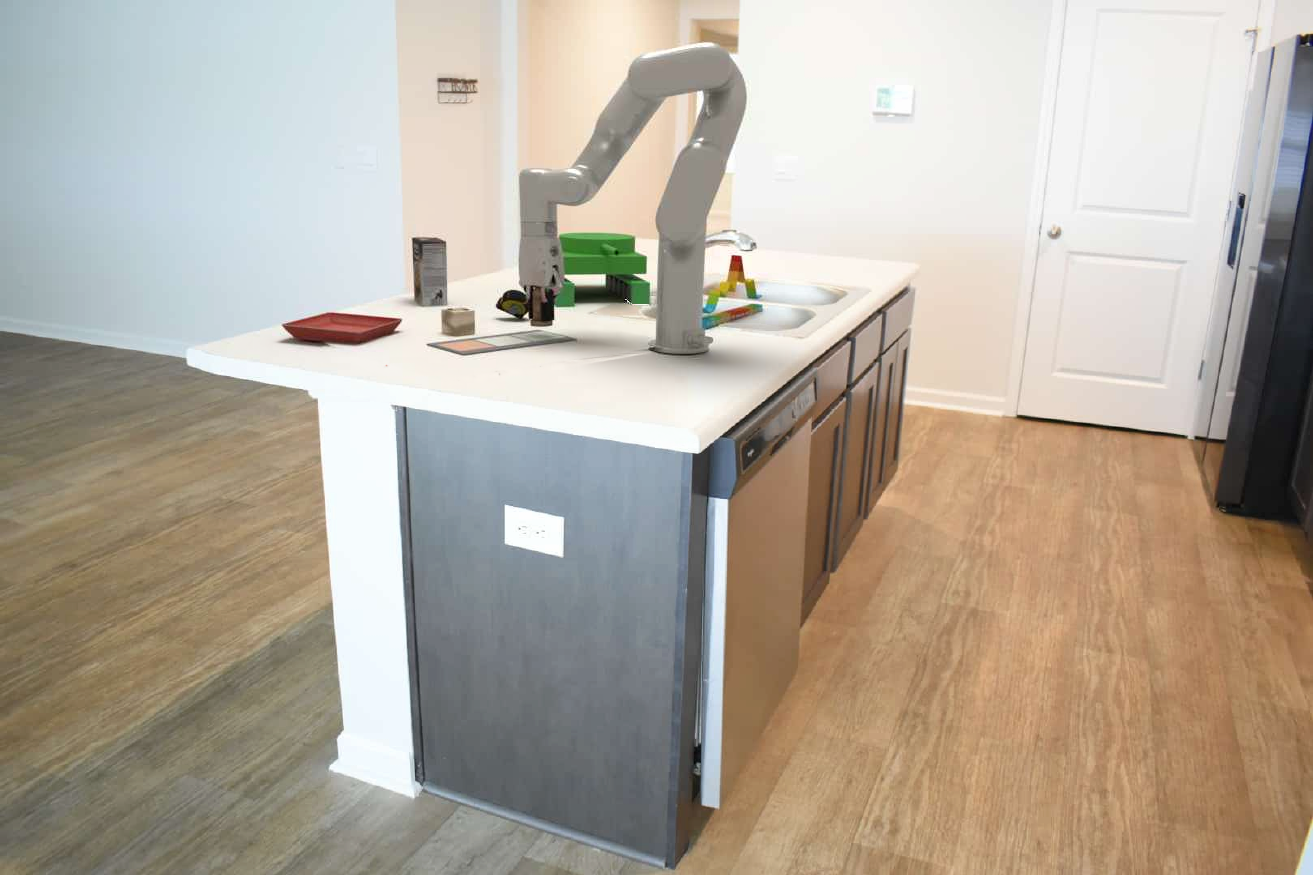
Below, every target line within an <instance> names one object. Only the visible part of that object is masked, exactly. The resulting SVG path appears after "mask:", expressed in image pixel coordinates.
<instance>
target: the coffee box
mask: <svg viewBox="0 0 1313 875" xmlns="http://www.w3.org/2000/svg"><path fill="white" fill-rule="evenodd" d="M411 243H412V244H411V245H412V247H411V248H412V269H413V270H412V272H413V293H414V295H413V296H414V302H415V303H417V304H418V305H419V306H421V307H426V308H427V307H447V306H448V264H447V263H448V262H447V259H448V257H447V241H446V240H443V239H441V238H439V237H427V236H425V237H423V236H422V237H421V236H420V237H419V236H417V237H416V236H415V237H411Z"/></svg>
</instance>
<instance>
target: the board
mask: <svg viewBox="0 0 1313 875" xmlns="http://www.w3.org/2000/svg"><path fill="white" fill-rule="evenodd" d="M572 341H577V338H576V337H573V336H572V337H571V336H567V335H563V334H559V333H555V332H551V331H550V332H549V331H545V330H541V329H533V330H532V329H531V330H524V331H518V332H509V333H502V334H494V335H493V334H492V335H486V336H485V335H484V336H477V337H471V338H469V337H468V338H462V339H461V338H460V339H454V340H446V341H438V342H437V341H436V342H431V343H430V342H429V343H426V346H429V347H432V348H435V349H440V350H443V351H446V352H450V353H454V354H456V355H460V356H470V355H477V354H484V353H493V352H500V351H506V350H513V349H520V348H521V349H523V348H529V347H535V346H541V345H551V344H556V343H557V344H558V343H563V342H565V343H566V342H572Z"/></svg>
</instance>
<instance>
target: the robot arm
mask: <svg viewBox="0 0 1313 875" xmlns="http://www.w3.org/2000/svg"><path fill="white" fill-rule="evenodd" d="M624 79H625V80H624V81H623V82H622V83H621V84H620V87H618V89H617V90H616V92H615V93H614V95H613V96H612V97H611V99H610V101H609V102H608V103H607V105H605V107H604V109H603V110H602V111H601V113H600V114H599V116H598V118H597V120H596V123H595V126H594V129H593V133H592V135H591V137H590V138H589V141H588V142H587V144H586V145H585V147H584V148H583V150H581V153H580V154H579V156H578V157H577V158H576V160H575V161H574V163H573V164H572V165H571V167H568V168H566V167H565V168H561V169H552V168H545V167H543V168H542V167H528V168H524V169H523V168H522V170H521V171H520V172H519V175H518V185H519V186H518V188H519V190H518V191H519V218H520V219H519V220H520V226H519V227H520V238H519V239H520V240H519V246H518V248H519V249H518V277H519V280H518V285H519V286H520V287H521V288H522V289H523V291H524V293H525V294H526V299H527V300H528V313H527V314H528V315H527V316H528V319H529V320H532V319H533V290H534V288H535V287H541V294H542V301H543V302H540V314H541V321H542V322H545V321H552V320H553V321H554V320H555V305H554V301H556V296H557V295H558V293H560V292H561V291H562V290H563V286H562V285H563V284H564V277H565V275H564V262H563V253H562V247H561V242H560V238H559V234H558V205H561V206H562V205H563V206H568V207H578V206H582V205H583V204H586V203H588V202H591V200H592V199H593V198H594V197H595V196H596V195H597V194H598V192H599V191H600V190H601V188H602V187H603V186H604V184H605V183H606V181H608V179H609V177H610V176H611V174H613V172H614V170H615V169H616V167H617V166H619V163H620V162H621V161H622V159H623V157H624V156H625V155H626V154H627V153H628V152H629V151H630V149H631V148H632V146H633V145H634V142H635V141H636V140H637V139H638V137H639V136H640V135H641V133H642V132H643V130H644V129H645V127H646V126H647V125H648V123H649V122H650V121H651V119H652V118H653V117H654V115H655V114H656V112H657V111H658V110H659V109H660V107H661V106H662V104H664V102H665V100H666V99H667V98H669V97H670V98H671V97H674V96H675V97H676V96H680V95H681V96H682V95H686V94H692V93H698V92H702V95H703V97H702V98H703V101H702V106H701V107H700V110H699V113H698V116H697V118H696V121H695V125H694V127H693V130H692V132H691V135H690V138H689V140H688V143H687V145H686V146H684V147H683V148H682V150H681V151H680V152H679V154H678V156H677V158H676V160H675V163H674V165H673V167H672V170H671V173H670V175H669V177H668V178H669V179H668V180H667V181H668V182H667V183H666V186H665V189H664V192H663V194H662V196H661V199H660V202H659V204H658V206H657V210H656V212H655V213H656V214H655V218H654V219H655V227H656V230H657V232H658V246H657V247H658V249H657V250H658V251H657V252H658V253H657V279H656V311H655V312H656V314H655V315H656V316H655V317H656V318H655V339H652V340H649V341H648V343H647V344H648V345H649V346H651V347H648V349H649V350H651V351H653V352H657V353H664V354H675V355H676V354H677V355H691V354H700V353H704V352H705V353H706V352H707V351H709V346H710V344H713V342H714V337H712V336H707V335H706V329H702V317H703V313H702V310H703V308H704V305H703V304H704V282H705V281H704V278H705V277H704V275H705V260H706V259H705V258H706V257H705V256H706V243H707V242H706V241H707V225H708V224H707V220H708V219H707V218H708V216H709V214H710V211H711V210H712V207H713V204H714V202H715V199H716V196H717V193H718V191H719V189H720V186H721V183H722V181H723V178H725V174H726V170H727V166H728V165H727V164H728V161H729V157H730V155H731V152H732V150H733V148H734V145H735V142H736V139H737V136H738V134H739V131H740V128H741V125H742V123H743V122H742V121H743V119H744V115H745V112H746V108H747V100H748V99H747V97H748V96H747V95H748V93H747V87H746V82H745V79H744V76H743V73H742V72H741V70H740V68H739V66H737V64H736V63H735V61H734V60H733V58H732V57H731V55H730V53H729V52H728V50H727V49H726V48H725V47H724V46H723V45H721V44H719V43H716V42H711V41H707V42H704V41H703V42H698V43H694V44H689V45H684V46H678V47H674V48H670V49H665V50H658V51H653V52H652V51H651V52H647V53H643V54H641V55H639V56H637V57H636V58H634V60H633V61H632V62H631V63H630V65H629V68H628V72H627V76H626V78H624ZM549 285H550V286H549ZM547 289H550V290H549V291H548V293H547Z"/></svg>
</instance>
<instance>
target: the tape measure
mask: <svg viewBox="0 0 1313 875" xmlns="http://www.w3.org/2000/svg"><path fill="white" fill-rule="evenodd" d="M495 308H496V309H497V310H499V311H502V312H504V313H506V314H508V315H511V316H513V317H515V318H517V319H523V318H524V317H525V316H526V315H527V314H528V300H527V299H526V293H525V292H523V291H520V290H518V289H509V290H506V291H504V292H503V294H502V296H501V297H499V298H498V300H497V302H496V304H495Z"/></svg>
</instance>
